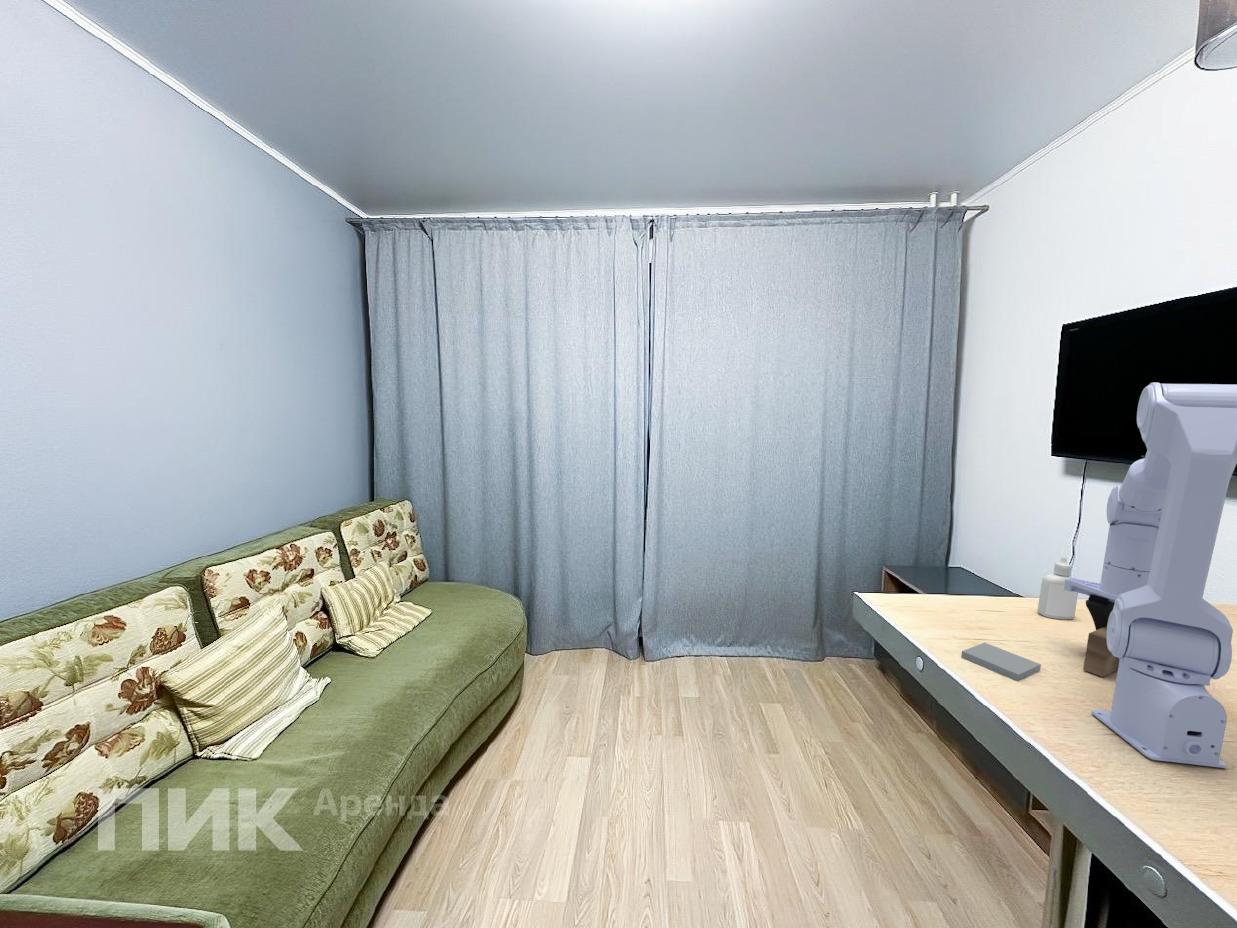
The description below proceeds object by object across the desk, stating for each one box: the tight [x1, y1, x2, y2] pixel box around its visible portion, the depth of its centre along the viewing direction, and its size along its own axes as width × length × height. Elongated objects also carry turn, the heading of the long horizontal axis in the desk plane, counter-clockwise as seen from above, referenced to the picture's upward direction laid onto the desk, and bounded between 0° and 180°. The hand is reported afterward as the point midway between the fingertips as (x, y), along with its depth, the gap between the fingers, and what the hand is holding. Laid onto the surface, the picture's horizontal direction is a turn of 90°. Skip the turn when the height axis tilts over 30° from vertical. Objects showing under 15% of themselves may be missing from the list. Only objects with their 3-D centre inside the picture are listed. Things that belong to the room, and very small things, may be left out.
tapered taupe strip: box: [1082, 626, 1120, 678], centre depth 84 cm, size 14×2×6 cm, turn 119°
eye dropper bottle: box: [1037, 556, 1079, 621], centre depth 102 cm, size 4×6×12 cm
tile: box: [960, 642, 1042, 682], centre depth 83 cm, size 8×2×7 cm
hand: (1115, 647), depth 84 cm, fingers closed on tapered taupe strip, 2 cm apart
